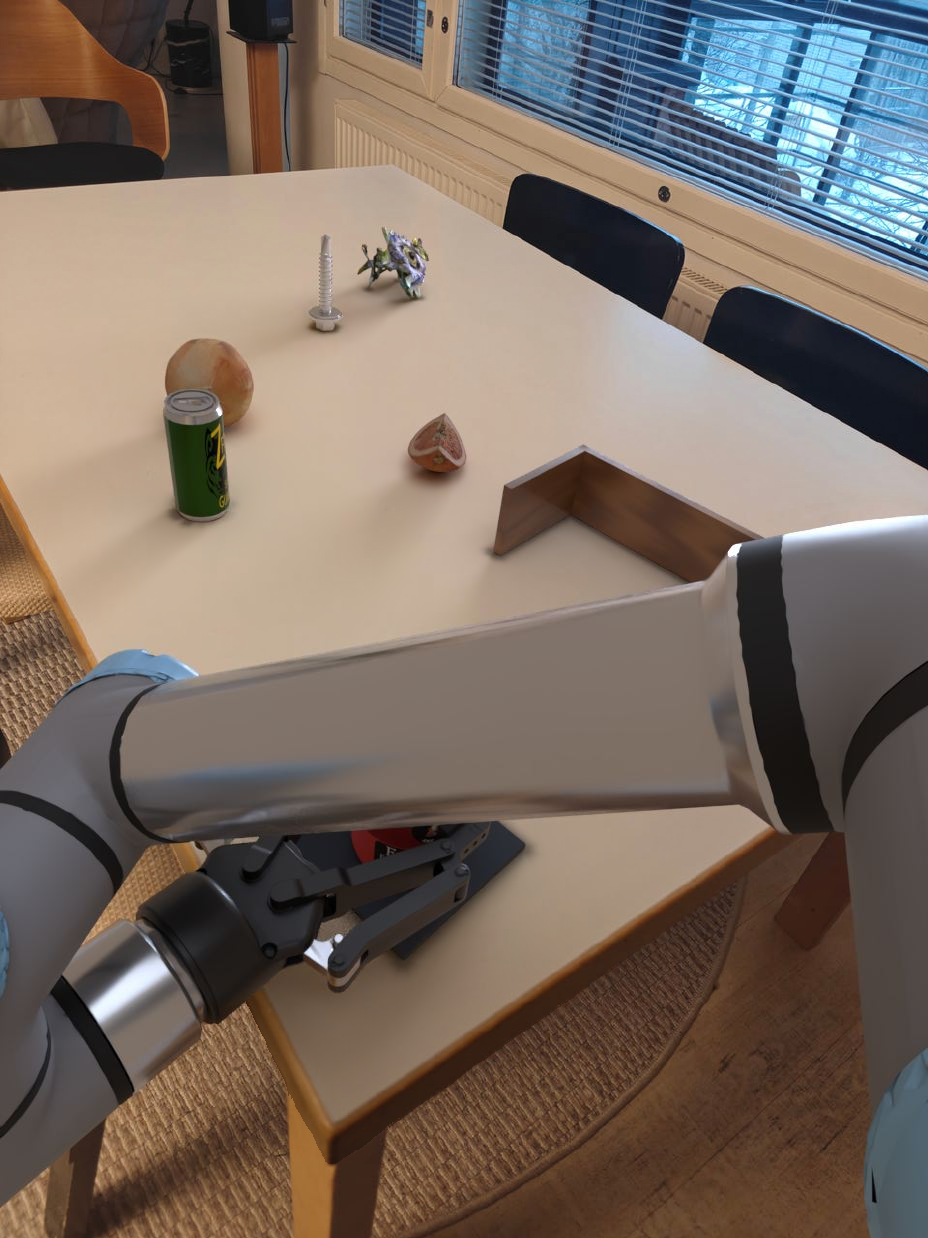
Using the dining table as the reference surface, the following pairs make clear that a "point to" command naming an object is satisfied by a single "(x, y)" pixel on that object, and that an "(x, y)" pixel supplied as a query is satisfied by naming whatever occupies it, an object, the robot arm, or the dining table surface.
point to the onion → (213, 375)
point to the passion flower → (399, 262)
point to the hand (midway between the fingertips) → (461, 748)
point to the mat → (481, 862)
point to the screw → (325, 291)
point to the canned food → (390, 840)
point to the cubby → (618, 513)
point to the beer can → (197, 454)
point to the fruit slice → (438, 446)
